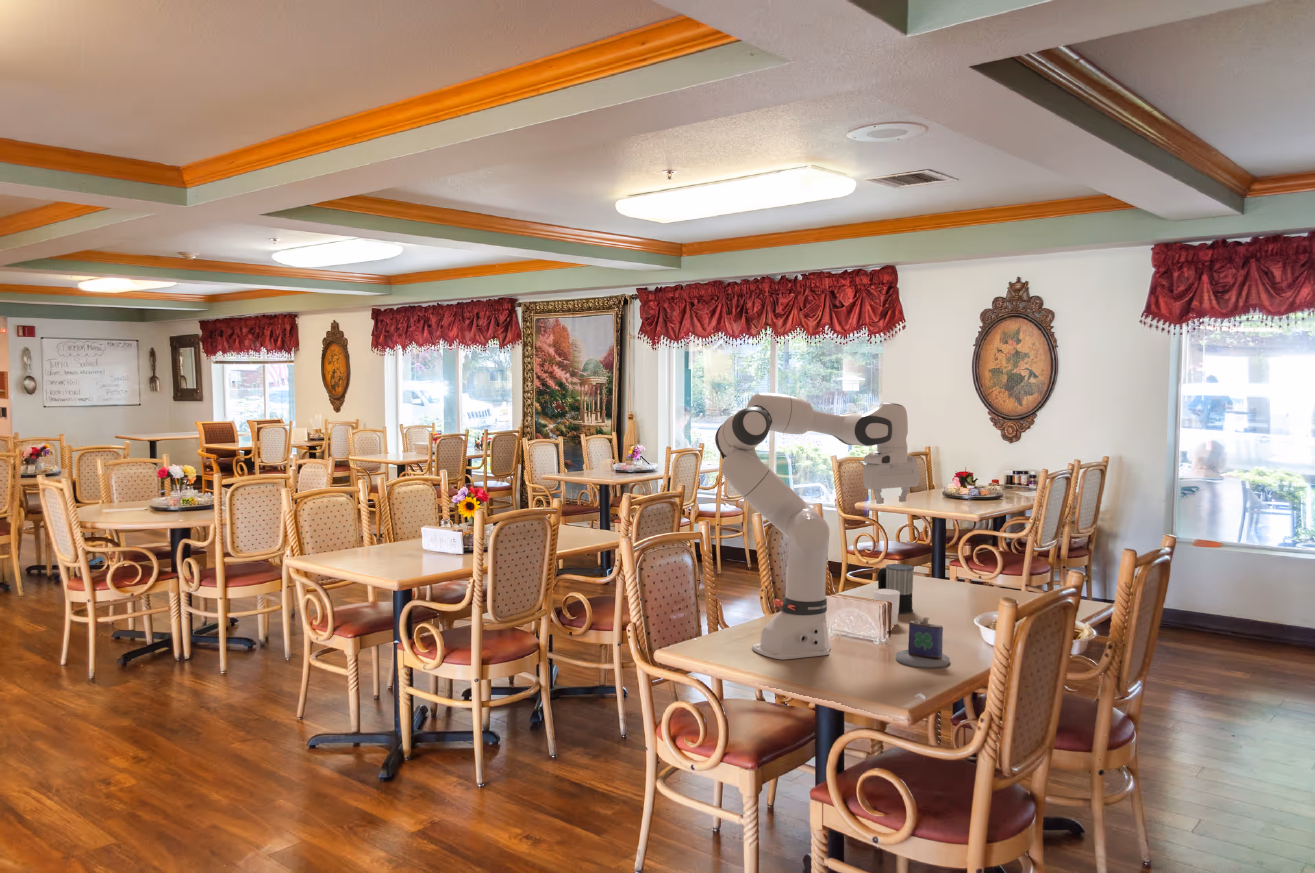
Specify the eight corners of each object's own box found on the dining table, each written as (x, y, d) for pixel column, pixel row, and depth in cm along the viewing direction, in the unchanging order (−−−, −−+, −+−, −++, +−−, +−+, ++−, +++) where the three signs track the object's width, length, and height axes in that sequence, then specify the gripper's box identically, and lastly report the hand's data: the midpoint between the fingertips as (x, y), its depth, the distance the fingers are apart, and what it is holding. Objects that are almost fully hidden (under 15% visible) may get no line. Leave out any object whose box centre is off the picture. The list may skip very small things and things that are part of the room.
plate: (924, 671, 238) (924, 667, 238) (884, 657, 250) (884, 654, 250) (960, 663, 246) (961, 659, 246) (920, 650, 258) (920, 646, 258)
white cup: (899, 626, 283) (900, 594, 283) (873, 625, 285) (874, 593, 284) (898, 620, 291) (899, 589, 290) (873, 619, 293) (873, 588, 292)
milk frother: (918, 610, 305) (919, 566, 304) (894, 618, 294) (894, 572, 293) (880, 603, 315) (881, 560, 314) (855, 611, 304) (856, 566, 303)
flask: (943, 658, 247) (944, 618, 246) (939, 660, 244) (940, 620, 244) (910, 652, 252) (910, 613, 251) (906, 654, 250) (906, 615, 249)
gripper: (908, 455, 283) (908, 499, 284) (859, 457, 272) (859, 503, 273) (924, 456, 277) (923, 501, 278) (875, 458, 267) (874, 506, 267)
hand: (891, 502), depth 275 cm, fingers open, 8 cm apart
